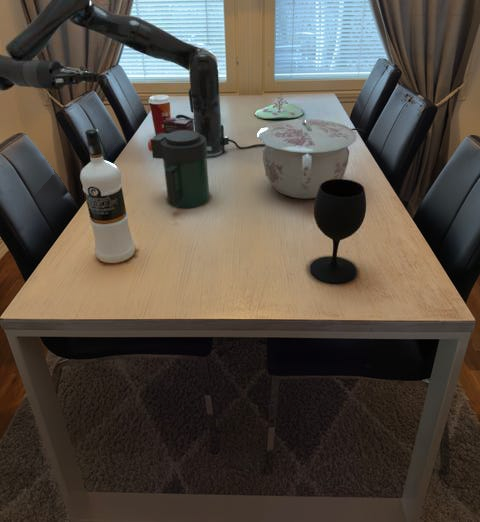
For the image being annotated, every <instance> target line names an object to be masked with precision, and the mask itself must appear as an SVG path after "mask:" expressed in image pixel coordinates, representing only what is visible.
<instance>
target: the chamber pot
mask: <svg viewBox="0 0 480 522" xmlns="http://www.w3.org/2000/svg"><path fill="white" fill-rule="evenodd" d="M352 129H353V128H350V127H348V126H346V125H345V124H341V123H337V122H334V121H331V120H322V119H312V118H299V119H298V118H297V119H296V118H293V119H287V120H281V121H277V122H274V123H270V124H268V125H265V126H264V127H262V128H261V129H260V130H259V131H258V133H257V139H258V140H259V141H260V142H261V144H265V146H263V149H262V162H263V167H264V172H265V176H266V178H267V179H268V180H269V182H270V184H271V185H272V187H273V189H275V190H276V191H277V192H278V193H279V194H281V195H284V196H286V197H290V198H294V199H303V200H304V199H306V200H307V199H315V198H316V195H317V192H318V190H319V187H320V185H321V184H322V183H323V182H325V181H328V180H333V179H344V177H345V174H346V170H347V168H348V165H349V164H348V163H349V158H350V149H349V147H350V146H351V145H353V144H354V143H355V142H356V141H357V136H358V135H357V134H356V133H355V132H354V130H352Z"/></svg>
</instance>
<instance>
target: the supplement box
mask: <svg viewBox="0 0 480 522" xmlns="http://www.w3.org/2000/svg"><path fill="white" fill-rule="evenodd" d="M163 124H164V132H165V134H169V133H171V132H175V131H181V130H191V131H195V126H194V120H189V119H185V118H175V117H172V116H171V118H168V119H166V120H165V121H163Z"/></svg>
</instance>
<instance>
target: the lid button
mask: <svg viewBox="0 0 480 522" xmlns="http://www.w3.org/2000/svg"><path fill="white" fill-rule="evenodd" d="M151 139H152V138H149V139H148V142H147V149H148V150H149V152H152V147H151Z"/></svg>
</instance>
